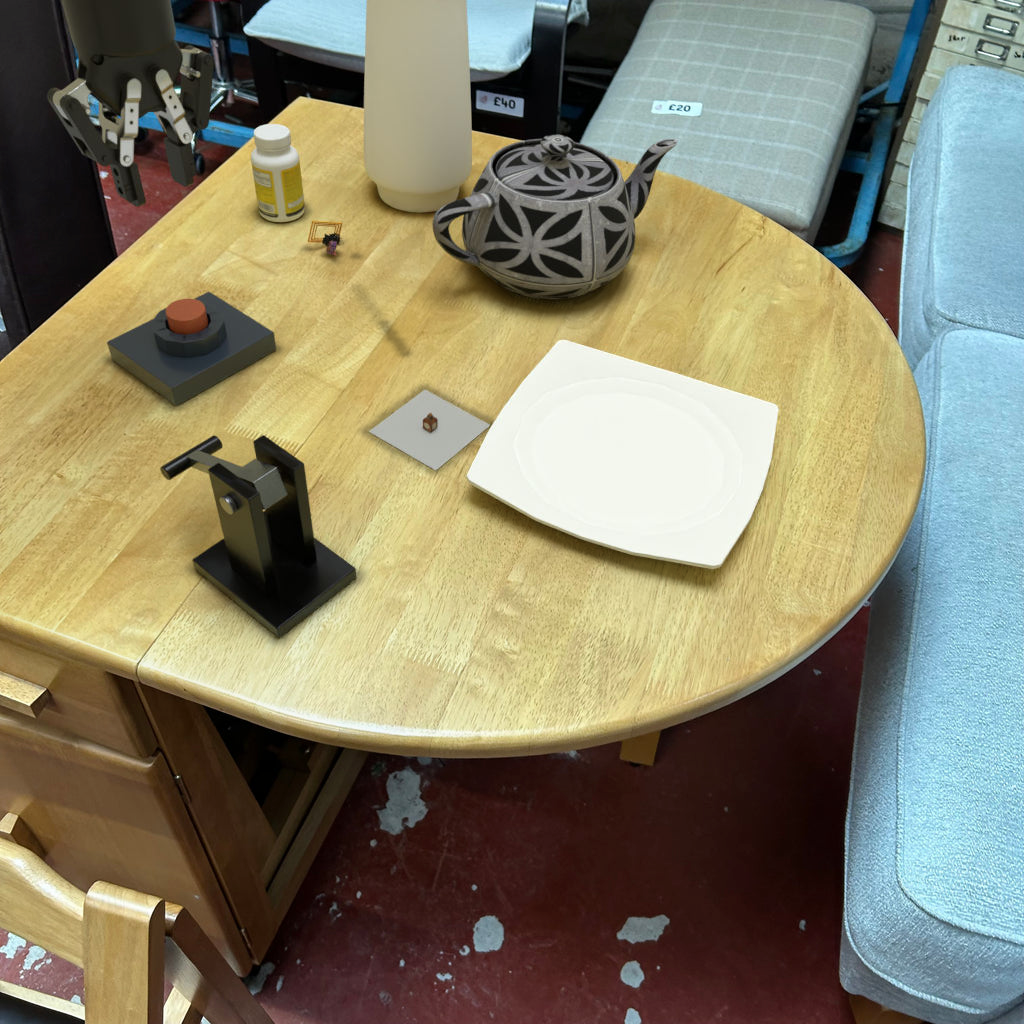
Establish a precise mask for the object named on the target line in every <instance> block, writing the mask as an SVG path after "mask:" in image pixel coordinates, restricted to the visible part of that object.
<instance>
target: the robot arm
mask: <svg viewBox="0 0 1024 1024" xmlns="http://www.w3.org/2000/svg"><path fill="white" fill-rule="evenodd" d="M61 4H62V8H63V12H64V15H65V20H66V22H67V26H68V31H69V35H70V38H71V41H72V44H73V46H74V48H75V51H76V53H77V55H78V56H77V59H78V62H77V63H78V64H77V68H76V79H75V80H74V81H72V82H71V83H70V84H68V85H67V86H65V87H64V88H63V89H59V88H58V87H52V88H50V89H49V90H48V91H47V94H46V98H47V101H48V103H49V104H50V106H51V107H52V109H53V110H54V112H55V113H56V115H57V116H58V118H59V120H60V121H61V123H62V125H63V126H64V128H65V129H66V131H67V132H68V134H69V136H70V137H71V139H72V140H73V142H74V143H75V146H76V147H77V148H78V150H79V152H80V153H81V154H82V155H83V156H84V157H86V158H88V159H91V160H93V161H94V162H95V163H97V164H98V165H100V166H102V167H105V168H106V167H108V166H109V167H110V171H111V175H112V179H113V184H114V187H115V191H116V193H117V195H118V196H119V197H120V198H122V199H123V200H126V201H127V202H128V203H129V204H132V205H133V206H135V207H136V208H139V207H141V206H144V205H146V204H147V199H146V195H145V191H144V187H143V182H142V179H141V174H140V169H139V166H138V163H136V162H135V161H134V157H135V153H134V152H135V138H137V137H138V136H139V120H140V119H142V118H143V117H144V116H145V115H147V114H148V113H153V115H155V117H156V120H157V121H158V123H159V125H160V127H161V130H162V131H163V132H164V134H165V135H167V136H166V137H164V138H162V139H163V143H164V148H165V152H166V157H167V162H168V166H169V172H170V176H171V178H172V180H173V181H174V182H175V183H177V184H179V185H180V186H182V187H184V188H187V187H190V186H191V185H194V177H196V172H197V168H196V163H195V159H194V158H195V155H194V151H193V147H192V146H193V145H192V141H193V139H194V134H195V133H197V132H198V131H199V130H202V131H203V130H206V129H207V128H208V127H209V124H210V116H211V114H210V113H211V105H212V104H211V103H212V102H211V101H212V89H213V77H214V64H215V60H214V57H213V56H212V54H209V53H208V52H206V51H203V50H202V49H200V48H197V47H195V46H193V45H190V44H188V45H186V46H184V48H180V47H179V45H178V44H177V42H176V40H175V39H176V36H177V35H176V34H177V30H176V29H177V28H176V25H175V18H174V12H173V8H172V3H171V0H61ZM179 74H180V75H181V76H180V89H179V90H180V91H179V96H178V94H177V92H176V89H175V87H176V83H177V80H178V77H179ZM90 95H91V96H92V97H93V98H95V100H96V101H98V123H99V125H100V127H101V135H100V133H99V132H98V130H97V128H96V127H95V125H94V123H93V122H92V120H91V118H90V117H89V115H90V114H91V113H92V110H91V106H90V103H89V97H90Z"/></svg>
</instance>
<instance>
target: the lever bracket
mask: <svg viewBox="0 0 1024 1024" xmlns="http://www.w3.org/2000/svg"><path fill="white" fill-rule="evenodd" d="M252 444H253V447H254V453H255V459H257V460H259V461H262V462H265V463H268V464H270V465H273V466H276V467H277V468H278V470H279V473H280V475H281V478H282V480H283V483H284V486H285V488H286V491H287V493H288V495H286V496H285V497H283V498H282V499H280V500H279V501H277V502H276V503H275V504H273V505H272V506H270V507H269V508H267V509H266V510H263V508H262V502H261V497H260V493H259V492H258V491H257V490H255V489H254V488H253V487H251V486H250V485H249V484H247V483H246V482H245V481H243V480H242V479H241V478H239V477H238V476H236V475H235V474H234V473H232V472H231V471H230V470H228V469H227V468H226V467H224V466H223V465H222V464H220V463H217V464H216V465H214V466H212V467H211V468H209V469H208V472H209V474H208V476H209V480H210V485H211V489H212V493H213V498H214V502H215V505H216V510H217V514H218V518H219V522H220V528H221V531H222V536H223V538H222V539H221V540H219V541H218V542H216V543H214V544H213V545H211V546H210V547H209V548H207V549H205V550H204V551H202V552H201V553H200V554H198V555H197V556H195V557H193V559H192V563H193V567H194V569H195V570H196V571H197V573H199V574H200V575H202V576H203V577H204V578H206V580H208V581H209V582H210V583H211V584H212V585H214V586H215V587H216V588H217V589H219V590H220V591H221V592H222V593H223V594H225V595H226V596H227V597H228V598H230V599H231V600H232V601H233V602H234V603H236V604H237V605H238V606H240V607H241V609H243V610H244V611H245V612H246V613H248V614H249V615H251V616H252V617H253V618H254V619H255V620H257V621H258V622H259V623H260V624H261V625H262V626H263V627H265V628H266V629H267V630H269V631H270V632H271V633H272V634H273V635H275V636H276V638H278V639H280V638H281V637H283V636H284V635H285V634H287V633H288V632H289V631H290V630H291V629H293V628H294V627H296V626H297V625H298V624H299V623H300V622H302V621H303V620H304V619H306V618H307V617H308V616H310V615H311V614H312V613H313V612H315V611H316V610H318V609H319V608H320V607H321V606H322V605H324V604H325V603H326V602H328V601H329V600H330V599H331V598H333V597H334V596H335V595H336V594H338V593H339V592H341V590H343V589H344V588H345V587H347V586H348V585H349V584H351V583H352V582H353V581H354V580H355V579H357V569H356V567H355V566H353V564H350V562H348V561H346V560H345V559H344V558H343V557H341V556H340V555H338V554H337V553H336V552H334V551H333V550H332V549H330V548H329V547H328V546H326V545H325V544H324V543H323V542H321V541H319V540H318V539H317V538H315V535H314V528H313V521H312V520H313V519H312V512H311V505H310V496H309V492H308V491H309V490H308V484H307V483H308V482H307V476H306V475H307V474H306V468H305V463H304V462H303V461H301V460H300V459H298V458H297V457H296V456H294V455H293V454H291V453H290V452H289V451H287V450H286V449H284V448H283V447H282V446H280V445H279V444H278V443H276V442H274V441H273V440H271V439H270V438H269V437H267V436H266V435H264V434H263V435H261V436H259V437H257V438H256V439H255V440H253V443H252Z"/></svg>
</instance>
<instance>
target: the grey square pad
mask: <svg viewBox="0 0 1024 1024" xmlns="http://www.w3.org/2000/svg"><path fill="white" fill-rule="evenodd" d="M489 427H491V424H489V423H488V422H486V421H484V420H482V419H480V418H478V417H476V416H475V415H473V414H471V413H470V412H467V411H466V410H464V409H463V408H461V407H458V406H456V405H454V404H453V403H451V402H449V401H447V400H446V399H443V398H441V397H440V396H438V395H436V394H434V393H433V392H430V391H429V390H427V389H423V390H422V391H421V392H419V393H418V394H417V395H415V396H414V397H412V398H411V399H410V400H409V401H407V402H406V403H405V404H403V405H402V406H400V407H399V408H398V409H397V410H396V411H394V412H393V413H391V414H390V415H389V416H388V417H386V418H385V419H384V420H381V422H379V423H378V424H377V425H375V426H374V427H372V428H371V429H370V430H369V431H368V432H369V433H370V434H372V435H374V436H376V437H377V438H379V439H381V440H382V441H384V442H386V443H388V444H389V445H391V446H393V447H394V448H396V449H398V450H400V451H402V452H403V453H405V454H407V455H408V456H410V457H411V458H413V459H415V460H416V461H418V462H420V463H422V464H424V465H425V466H427V467H429V468H430V469H432V470H433V471H437V470H438V469H440V468H441V467H443V465H445V464H446V463H447V462H448V461H449V460H450V459H452V458H453V457H455V455H456V454H458V453H459V452H460V451H461V450H462V449H464V448H465V447H466V446H468V445H469V444H470V443H471V442H472V441H474V439H476V438H477V437H478V436H479V435H481V434H482V433H483V432H484V431H485V430H487V429H488V428H489Z"/></svg>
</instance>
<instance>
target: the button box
mask: <svg viewBox="0 0 1024 1024" xmlns="http://www.w3.org/2000/svg"><path fill="white" fill-rule="evenodd" d="M194 299H195V300H198V301H200V302H202V303H203V304H204V306H205V309H206V314H207V319H208V325H207V327H206V329H204V330H202V331H200V332H198V333H194V334H187V335H183V334H176V333H173V332H172V331H171V330H170V328H169V324H168V320H167V316H166V308H167V307H165V308H163V309H161V310H159V311H158V312H157V314H156V315H155V317H153V318H152V319H150V320H148V321H146V322H144V323H142V324H140V325H137V326H136V327H134V328H132V329H130V330H128V331H126V332H123V333H122V334H119V335H118V336H116V337H114V338H111V339H110V340H108V341H106V344H107V347H108V350H109V354H110V357H111V360H112V361H113V362H114V363H116V364H117V365H119V366H120V367H121V368H123V369H124V370H126V371H127V372H128V373H130V374H131V375H132V376H134V377H135V378H137V379H138V380H139V381H140V382H142V383H144V384H145V385H147V386H148V387H149V388H151V389H152V390H153V391H155V392H156V393H158V394H159V395H160V396H162V397H163V399H165V400H167V401H168V402H169V403H171V404H172V405H174V406H175V407H178V406H179V405H181V404H183V403H185V402H186V401H188V400H190V399H192V398H193V397H195V396H197V395H199V394H200V393H202V392H204V391H206V390H209V388H212V387H213V386H215V385H216V384H219V383H220V382H222V381H224V380H225V379H227V378H229V377H231V376H233V375H234V374H236V373H238V372H240V371H242V370H244V369H246V368H247V367H249V366H251V365H253V364H254V363H255V362H258V361H259V360H261V359H263V358H265V357H267V356H269V355H270V354H272V353H274V352H275V351H277V344H276V337H275V332H274V331H273V330H271V329H270V328H268V327H267V326H265V325H263V324H261V323H260V322H258V321H257V320H256V319H254V318H252V317H250V316H249V315H247V314H246V313H244V312H242V311H241V310H239V309H237V308H236V307H235V306H234V305H232V304H230V303H229V302H227V301H225V300H224V299H222V298H221V297H219V296H218V295H215V294H214V293H213V292H211V291H207V292H205V293H203V294H201V295H199V296H196V297H195V298H194Z"/></svg>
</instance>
